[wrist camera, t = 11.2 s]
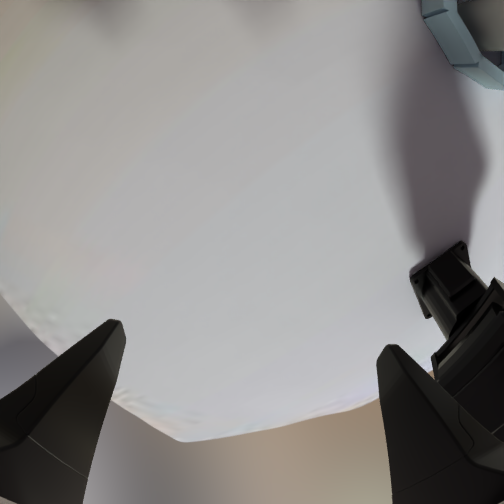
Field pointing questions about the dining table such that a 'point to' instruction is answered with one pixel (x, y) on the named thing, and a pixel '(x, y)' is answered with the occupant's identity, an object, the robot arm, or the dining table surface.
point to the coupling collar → (461, 44)
